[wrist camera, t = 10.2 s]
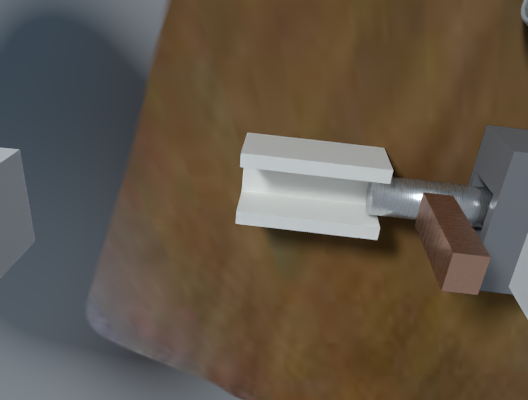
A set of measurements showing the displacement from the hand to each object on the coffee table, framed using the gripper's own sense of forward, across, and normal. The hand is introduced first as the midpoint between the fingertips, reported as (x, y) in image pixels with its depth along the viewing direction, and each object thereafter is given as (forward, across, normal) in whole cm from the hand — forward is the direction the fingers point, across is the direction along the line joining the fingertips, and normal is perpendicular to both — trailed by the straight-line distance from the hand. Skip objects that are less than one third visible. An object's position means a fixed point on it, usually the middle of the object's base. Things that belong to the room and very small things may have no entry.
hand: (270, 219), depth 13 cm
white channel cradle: (+30, +2, -12) cm, 33 cm away
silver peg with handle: (+29, +15, -12) cm, 35 cm away
